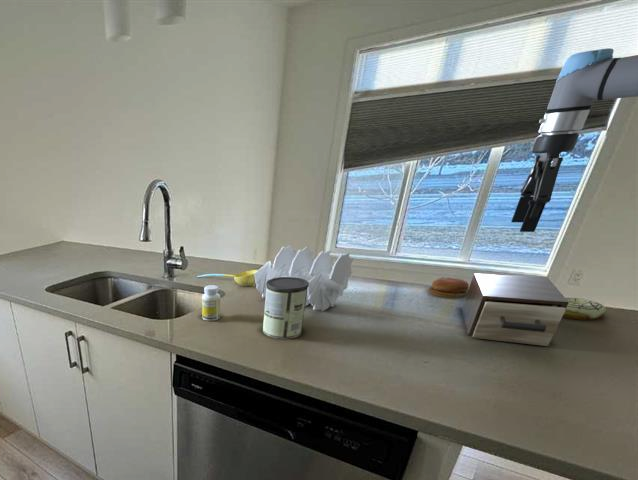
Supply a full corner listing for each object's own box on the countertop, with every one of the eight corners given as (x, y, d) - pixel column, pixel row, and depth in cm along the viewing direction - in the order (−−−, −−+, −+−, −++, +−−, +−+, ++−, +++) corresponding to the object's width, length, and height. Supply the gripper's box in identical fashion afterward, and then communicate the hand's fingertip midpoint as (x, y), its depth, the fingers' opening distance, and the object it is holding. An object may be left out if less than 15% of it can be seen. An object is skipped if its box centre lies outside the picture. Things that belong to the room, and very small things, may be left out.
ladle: (252, 288, 143) (249, 272, 141) (194, 292, 163) (191, 278, 160) (264, 281, 147) (262, 265, 145) (207, 285, 167) (204, 272, 165)
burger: (445, 301, 120) (450, 285, 118) (420, 292, 128) (424, 277, 126) (474, 296, 121) (480, 281, 119) (448, 288, 129) (453, 274, 127)
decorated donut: (603, 325, 99) (611, 311, 97) (543, 318, 105) (549, 304, 103) (598, 312, 105) (605, 298, 103) (542, 305, 111) (548, 292, 110)
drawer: (553, 356, 87) (573, 317, 82) (475, 346, 93) (489, 310, 89) (530, 317, 104) (545, 284, 99) (465, 311, 110) (477, 280, 106)
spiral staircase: (273, 305, 140) (345, 318, 122) (245, 295, 129) (319, 308, 110) (290, 252, 136) (366, 257, 118) (262, 237, 125) (342, 241, 107)
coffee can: (271, 323, 117) (276, 275, 110) (307, 330, 111) (315, 279, 103) (255, 335, 110) (259, 285, 103) (292, 343, 104) (299, 290, 97)
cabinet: (547, 346, 92) (569, 302, 87) (467, 337, 99) (483, 295, 94) (529, 316, 106) (547, 277, 101) (460, 310, 113) (474, 273, 108)
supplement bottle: (211, 313, 127) (211, 283, 122) (223, 318, 123) (224, 287, 118) (198, 318, 125) (198, 287, 120) (210, 322, 121) (210, 291, 116)
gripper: (527, 133, 107) (497, 218, 118) (549, 136, 89) (511, 235, 100) (566, 130, 103) (531, 218, 114) (596, 132, 85) (552, 236, 96)
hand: (521, 226), depth 107 cm, fingers open, 13 cm apart
